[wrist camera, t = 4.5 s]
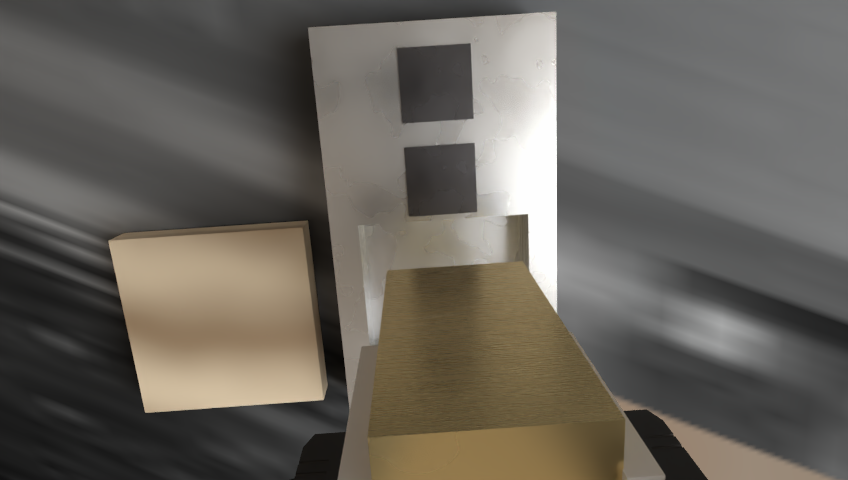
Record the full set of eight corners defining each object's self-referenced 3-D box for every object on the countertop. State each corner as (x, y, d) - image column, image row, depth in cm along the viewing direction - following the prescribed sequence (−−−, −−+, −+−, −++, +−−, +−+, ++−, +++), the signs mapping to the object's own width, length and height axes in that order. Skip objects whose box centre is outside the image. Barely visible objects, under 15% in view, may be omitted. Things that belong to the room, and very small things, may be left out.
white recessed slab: (319, 35, 25) (307, 27, 22) (538, 21, 25) (556, 11, 22) (356, 391, 30) (350, 424, 27) (542, 377, 30) (557, 409, 27)
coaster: (124, 232, 27) (108, 240, 26) (307, 220, 27) (302, 227, 26) (158, 397, 29) (145, 412, 28) (327, 385, 29) (323, 400, 28)
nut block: (386, 270, 20) (367, 437, 11) (523, 260, 20) (625, 420, 11) (397, 391, 22) (388, 636, 12) (524, 382, 22) (617, 619, 12)
